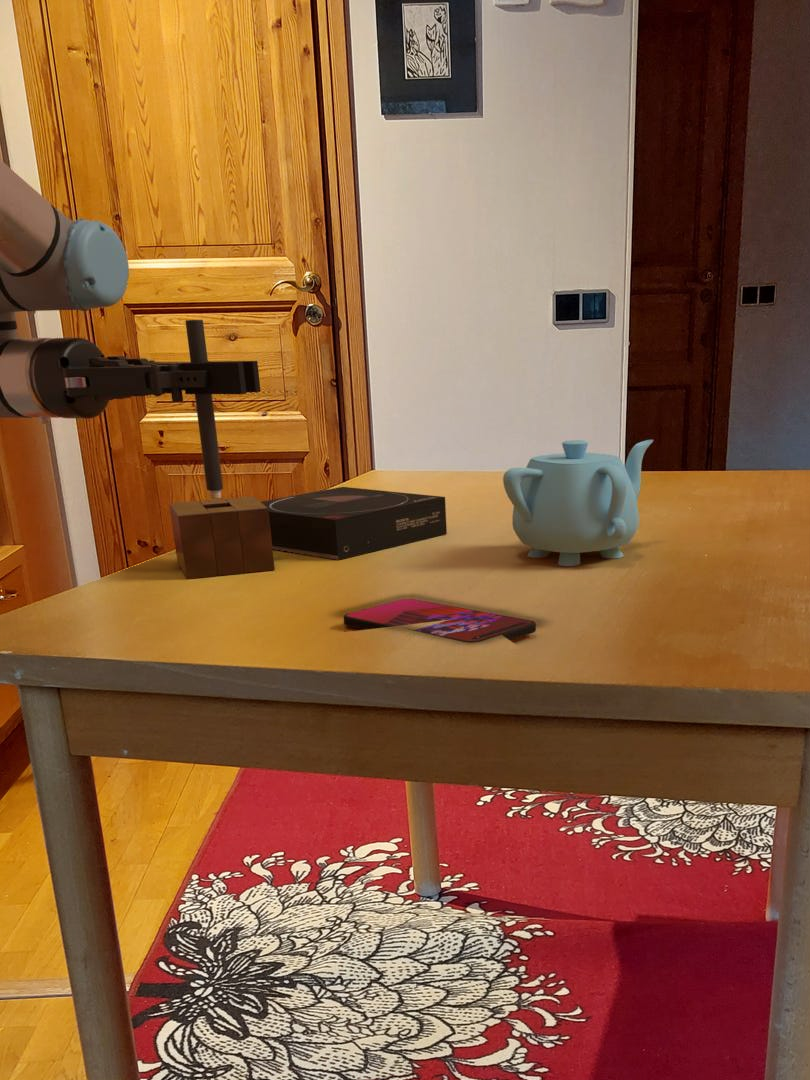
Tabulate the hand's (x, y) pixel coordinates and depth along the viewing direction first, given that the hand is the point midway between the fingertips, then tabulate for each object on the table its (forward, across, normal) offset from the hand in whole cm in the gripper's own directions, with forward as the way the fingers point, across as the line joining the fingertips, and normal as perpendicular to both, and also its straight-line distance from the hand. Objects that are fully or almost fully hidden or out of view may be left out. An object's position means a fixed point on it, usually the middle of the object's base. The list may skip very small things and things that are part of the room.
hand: (249, 377), depth 108 cm
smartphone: (+27, +16, -18) cm, 36 cm away
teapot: (+27, -16, -18) cm, 36 cm away
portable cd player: (-2, -16, -18) cm, 24 cm away
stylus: (-6, 0, -11) cm, 12 cm away
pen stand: (-6, 0, -18) cm, 19 cm away
